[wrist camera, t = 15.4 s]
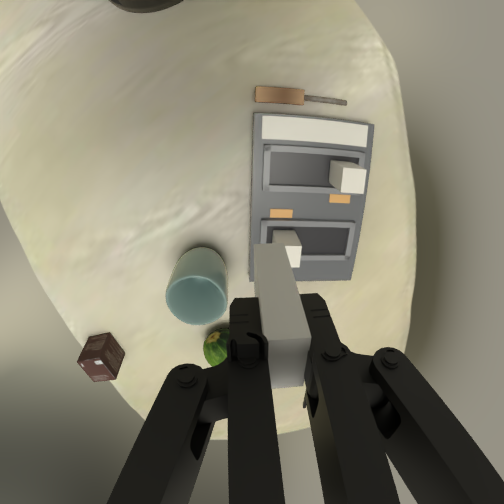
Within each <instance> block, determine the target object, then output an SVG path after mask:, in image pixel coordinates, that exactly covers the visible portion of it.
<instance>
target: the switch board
mask: <svg viewBox="0 0 504 504" xmlns="http://www.w3.org/2000/svg"><path fill="white" fill-rule="evenodd" d="M373 134H374V124H368V123H362V122H355V121H348V120H340V119H332V118H323V117H313V116H301V115H288V114H270V113H254V117H253V149H252V183H251V217H250V253H249V282H254V244H269V243H272V238H273V230H295V232H296V234H297V236H298V239H299V241H300V243H301V245H302V249H301V258H300V267H291V268H292V271H293V275H294V278H295V281H336V280H351V276H352V271H353V267H354V262H355V257H356V252H357V247H358V242H359V236H360V231H361V225H362V219H363V213H364V207H365V200H366V193H367V186H368V179H369V171H370V163H371V154H372V145H373ZM331 160H337V161H348V162H353V163H355V164H357V165H359V166H361V167H362V168H364V169H366V170H367V171H366V179H365V187H364V194H358V193H342V192H340V191H338V190H337V189H336V188H335V187H334V186H333V185H331V184H330V183H329V173H330V162H331Z"/></svg>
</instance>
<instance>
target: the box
mask: <svg viewBox="0 0 504 504" xmlns="http://www.w3.org/2000/svg"><path fill="white" fill-rule="evenodd" d="M124 356H125V352H124V351H123V349H122V348H121V347H120V346H119V344H118V343H117V342H116V340H115V339H114V337H113V336H112V334H111V333H106V334H101V335H97V336H92V337H89V338H88V340H87V342H86V344H85V346H84V348H83V350H82V352H81V354H80V356H79V359H78V361H77V363H78V364H79V365H80V366H81V368H82V369H83V370H84V371H85V372H86V373H87V375H89V377H90V378H91V379H92V380H93V381H94V382H97V381H107V380H116V378H117V375H118V372H119V369H120V367H121V364H122V361H123V358H124Z"/></svg>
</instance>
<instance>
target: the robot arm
mask: <svg viewBox="0 0 504 504" xmlns="http://www.w3.org/2000/svg"><path fill="white" fill-rule="evenodd" d="M109 1H110V2H112V3H113V4H114V5H116V6H117V7H119V8H120V9H123V10H125V11H129V12H135V13H147V12H154V11H159V10H162V9H165V8H168V7H171V6H173V5H175V4H177V3H179V2H181V1H183V0H109ZM254 290H255V297H252V298H235V299H234V300H233V302H232V303H231V305H230V321H229V322H230V324H229V338H228V339H227V343H226V350H227V357H226V359H225V360H224V361H223V362H221V363H220V364H218V365H216V366H213V367H210V368H206V369H202V368H201V367H200V366H197V365H195V364H182V365H178V366H176V367H175V368H173V369H172V370H171V371H170V372H169V374H168V375H167V377H166V379H165V381H164V383H163V385H162V387H161V389H160V391H159V393H158V396H157V398H156V400H155V402H154V404H153V406H152V408H151V410H150V412H149V414H148V416H147V418H146V420H145V422H144V425H143V427H142V429H141V431H140V433H139V435H138V437H137V439H136V441H135V443H134V446H133V448H132V450H131V452H130V454H129V456H128V459H127V461H126V463H125V465H124V467H123V469H122V471H121V474H120V476H119V478H118V480H117V482H116V484H115V486H114V489H113V491H112V493H111V495H110V498H109V500H108V502H107V504H188V503H189V500H190V497H191V494H192V491H193V488H194V485H195V482H196V479H197V476H198V473H199V470H200V467H201V464H202V461H203V458H204V455H205V452H206V449H207V445H208V443H209V440H210V437H211V434H212V431H213V427H214V424H215V421H218V420H222V419H225V418H228V472H229V473H228V475H229V504H285V498H284V490H283V482H282V473H281V464H280V456H279V447H278V439H277V430H276V422H275V413H274V405H273V397H272V389H274V388H287V387H298V386H303V383H304V379H305V384H306V393H305V397H304V402H303V408H306V405H307V410H308V415H309V420H310V425H311V431H312V436H313V441H314V447H315V451H316V457H317V463H318V468H319V474H320V479H321V485H322V491H323V497H324V503H325V504H400V502H399V498H398V494H397V490H396V486H395V483H394V480H393V476H392V473H391V470H390V466H389V463H388V459H387V456H386V454H387V455H388V457H389V459H390V460H391V462H392V463H393V465H394V467H395V468H396V470H397V471H398V473H399V475H400V476H401V477H402V479H403V481H404V482H405V484H406V486H407V487H408V489H409V490H410V492H411V494H412V495H413V497H414V498H415V500H416V501H417V503H418V504H504V482H503V480H502V479H501V477H500V476H499V474H498V473H497V472H496V470H495V469H494V467H493V466H492V464H491V463H490V462H489V460H488V459H487V458H486V456H485V455H484V453H483V452H482V451H481V450H480V448H479V447H478V445H477V444H476V443H475V442H474V440H473V439H472V437H471V436H470V435H469V434H468V432H467V431H466V430H465V428H464V427H463V426H462V424H461V423H460V422H459V421H458V419H457V418H456V417H455V416H454V414H453V413H452V412H451V411H450V409H449V408H448V407H447V405H446V404H445V403H444V402H443V400H442V399H441V398H440V397H439V396H438V394H437V393H436V392H435V390H434V389H433V388H432V387H431V386H430V384H429V383H428V382H427V381H426V380H425V378H424V377H423V376H422V375H421V374H420V372H419V371H418V370H417V369H416V368H415V366H414V365H413V364H412V363H411V362H410V360H409V359H408V358H407V357H406V356H405V355H404V354H403V353H402V352H401V351H400V350H397V349H395V348H390V347H385V348H381V349H379V350H378V351H376V352H375V354H374V356H369V355H361V354H356V353H353V352H351V351H350V350H349V349H348V347H347V346H346V345H344V344H343V343H341V342H340V339H339V337H338V334H337V331H336V329H335V326H334V323H333V321H332V318H331V317H330V313H329V310H328V307H327V305H326V302H325V300H324V299H323V298H322V297H321V296H320V295H319V294H318V293H312V294H299V292H298V288H297V285H296V282H295V278H294V275H293V271H292V268H291V265H290V262H289V258H288V255H287V252H286V248H285V245H284V243H269V244H254ZM385 452H386V453H385Z"/></svg>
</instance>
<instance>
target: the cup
mask: <svg viewBox="0 0 504 504" xmlns="http://www.w3.org/2000/svg"><path fill="white" fill-rule="evenodd" d="M166 302H167V305H168V307H169V309H170V311H171V312H172V313H173V314H174V316H176V317H177V318H178V319H179V320H181V321H183V322H185V323H187V324H191V325H205V324H208V323H211V322H214V321H216V320H217V319H219V318H220V317H221V316H222V315H223V314H224V312H225V311H226V308H227V304H228V274H227V269H226V266H225V263H224V261H223V259H222V258H221V257H220V255H219V254H218V253H217V252H215V251H214V250H212V249H210V248H207V247H198V248H194V249H191V250H189V251H187V252H186V253H185V254H183V255H182V256H181V258H180V259H179V260H178V262H177V263H176V265H175V267H174V269H173V272H172V274H171V277H170V279H169V282H168V285H167V289H166Z"/></svg>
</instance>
